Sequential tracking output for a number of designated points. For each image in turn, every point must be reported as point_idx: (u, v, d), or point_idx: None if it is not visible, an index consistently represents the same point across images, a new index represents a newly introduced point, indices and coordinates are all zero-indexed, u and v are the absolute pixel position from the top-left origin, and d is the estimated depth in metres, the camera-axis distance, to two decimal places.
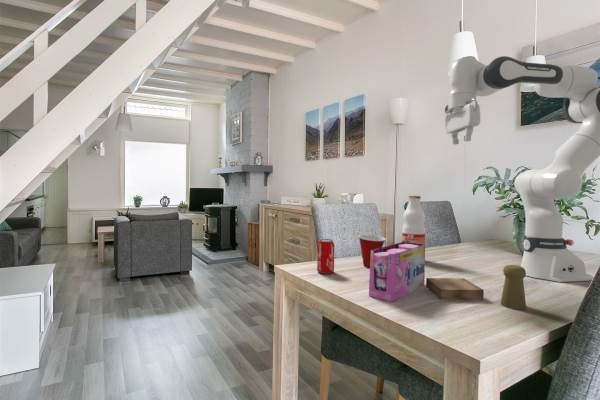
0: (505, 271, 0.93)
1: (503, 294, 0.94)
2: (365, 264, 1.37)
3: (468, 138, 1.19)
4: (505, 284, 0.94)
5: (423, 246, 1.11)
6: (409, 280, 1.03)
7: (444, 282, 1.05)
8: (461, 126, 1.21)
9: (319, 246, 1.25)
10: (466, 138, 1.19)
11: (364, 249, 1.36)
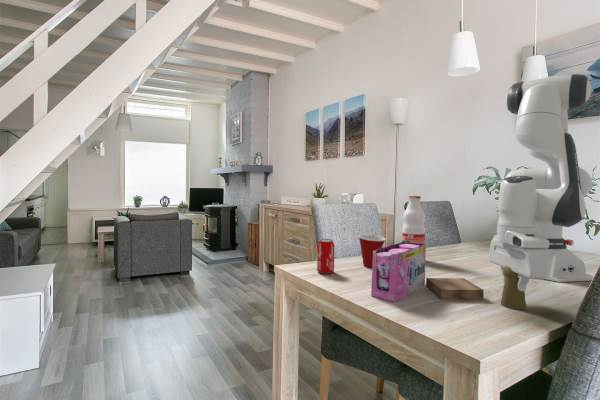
0: (505, 271, 0.93)
1: (503, 294, 0.94)
2: (365, 264, 1.37)
3: None
4: (505, 284, 0.94)
5: (424, 246, 1.12)
6: (410, 280, 1.04)
7: (444, 282, 1.05)
8: None
9: (319, 246, 1.25)
10: None
11: (364, 249, 1.36)
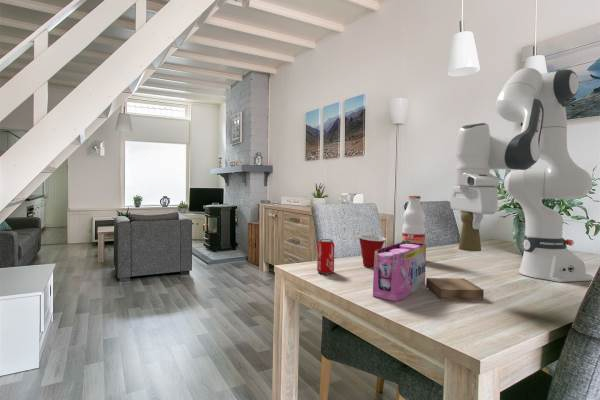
0: (462, 217, 1.00)
1: (460, 239, 1.01)
2: (365, 264, 1.37)
3: None
4: (462, 229, 1.00)
5: (424, 246, 1.12)
6: (411, 280, 1.04)
7: (444, 282, 1.05)
8: None
9: (319, 246, 1.25)
10: None
11: (364, 249, 1.36)
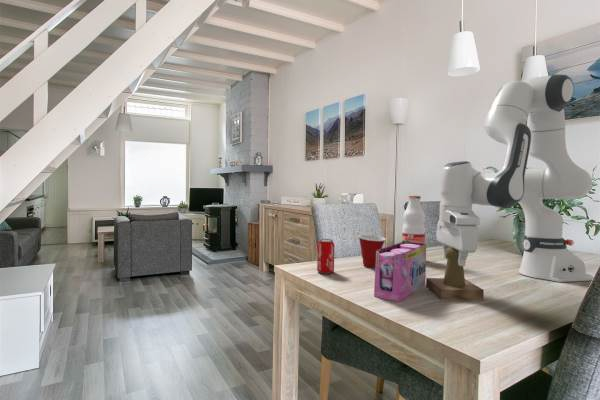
0: (446, 252, 1.03)
1: (445, 273, 1.04)
2: (365, 264, 1.37)
3: None
4: (447, 264, 1.03)
5: (424, 246, 1.12)
6: (412, 280, 1.04)
7: None
8: None
9: (319, 246, 1.25)
10: None
11: (364, 249, 1.36)
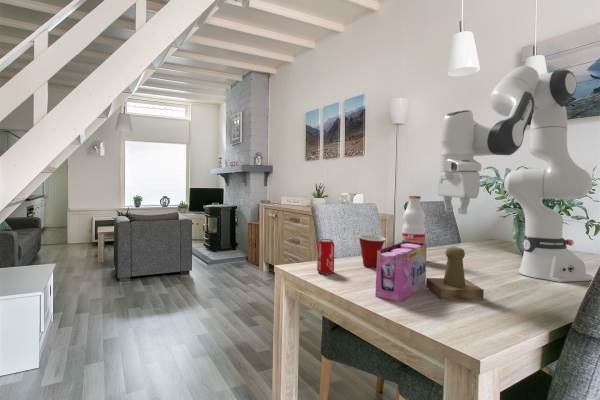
0: (446, 252, 1.03)
1: (445, 273, 1.04)
2: (365, 264, 1.37)
3: None
4: (447, 264, 1.03)
5: (425, 245, 1.12)
6: (413, 279, 1.04)
7: None
8: None
9: (319, 246, 1.25)
10: None
11: (364, 249, 1.36)
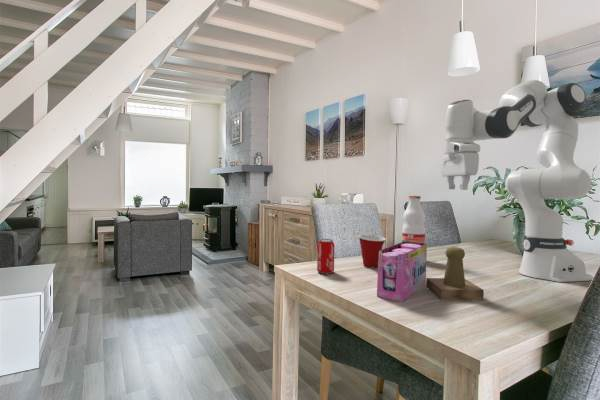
0: (446, 252, 1.03)
1: (445, 273, 1.04)
2: (365, 264, 1.37)
3: None
4: (447, 264, 1.03)
5: (425, 245, 1.13)
6: (414, 279, 1.04)
7: None
8: None
9: (319, 246, 1.25)
10: None
11: (364, 249, 1.36)
